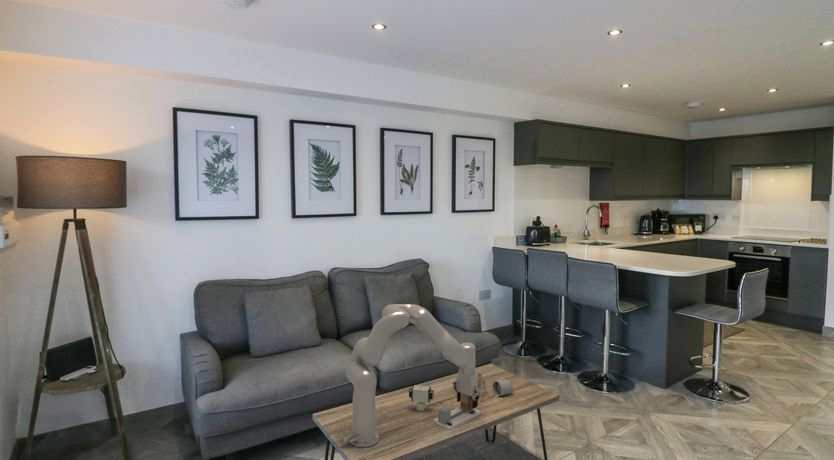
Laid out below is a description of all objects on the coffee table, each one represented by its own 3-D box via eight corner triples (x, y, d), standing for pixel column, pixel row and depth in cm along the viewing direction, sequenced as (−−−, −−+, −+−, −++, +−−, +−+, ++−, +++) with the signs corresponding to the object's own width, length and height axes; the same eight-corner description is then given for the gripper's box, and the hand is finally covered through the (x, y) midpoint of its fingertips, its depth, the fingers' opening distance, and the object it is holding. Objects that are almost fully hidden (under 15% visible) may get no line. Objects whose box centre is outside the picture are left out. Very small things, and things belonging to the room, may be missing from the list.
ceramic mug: (513, 395, 237) (513, 380, 237) (501, 398, 233) (501, 383, 233) (501, 388, 246) (501, 374, 246) (488, 391, 243) (488, 376, 242)
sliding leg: (471, 413, 213) (471, 397, 212) (460, 408, 218) (460, 392, 217) (478, 410, 216) (478, 394, 215) (467, 405, 221) (467, 389, 220)
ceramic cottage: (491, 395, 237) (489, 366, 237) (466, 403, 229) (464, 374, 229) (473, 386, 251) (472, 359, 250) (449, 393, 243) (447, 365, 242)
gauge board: (449, 430, 202) (449, 414, 201) (433, 422, 209) (433, 406, 209) (480, 413, 217) (480, 399, 217) (464, 406, 224) (464, 392, 224)
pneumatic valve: (432, 412, 218) (432, 388, 217) (408, 410, 221) (408, 386, 220) (434, 407, 224) (434, 383, 223) (411, 405, 226) (410, 382, 225)
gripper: (448, 366, 220) (448, 400, 221) (476, 376, 208) (476, 413, 209) (458, 362, 225) (458, 396, 227) (486, 372, 213) (486, 407, 214)
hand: (467, 404), depth 218 cm, fingers open, 9 cm apart
